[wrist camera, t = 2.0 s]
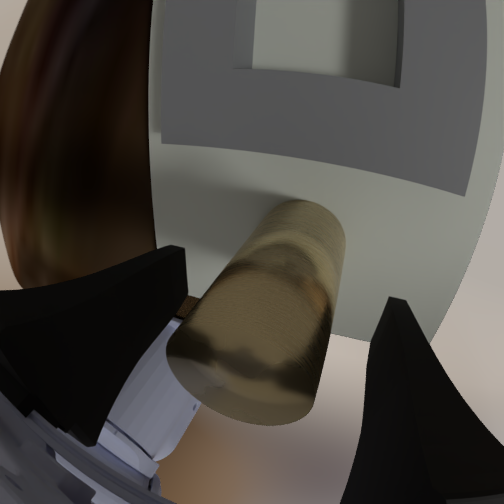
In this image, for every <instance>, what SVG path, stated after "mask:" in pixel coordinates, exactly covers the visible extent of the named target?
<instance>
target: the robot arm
mask: <svg viewBox="0 0 504 504" xmlns="http://www.w3.org/2000/svg"><path fill="white" fill-rule="evenodd" d="M188 293H189V291H188V280H187V267H186V254H185V248H183V247H179V246H175V245H168V246H164V247H161V248H158V249H156V250H153V251H150V252H148V253H145V254H143V255H140V256H138V257H135V258H133V259H130V260H128V261H125V262H123V263H120V264H118V265H115V266H112V267H110V268H107V269H104V270H102V271H99V272H96V273H93V274H90V275H87V276H84V277H81V278H77V279H74V280H70V281H66V282H61V283H57V284H52V285H47V286H42V287H36V288H29V289H20V290H1V291H0V504H176V503H174V502H172V501H170V500H168V499H165V498H163V497H161V486H160V479H159V477H158V475H157V474H155V472H156V470H157V468H158V467H159V464H158V463H156V462H155V461H158V460H161V459H163V458H165V457H166V456H168V455H169V454H170V453H171V452H172V451H173V450H174V449H175V447H176V446H177V444H178V442H179V440H180V439H181V437H182V435H183V434H184V432H185V430H186V428H187V427H188V425H189V423H190V422H191V420H192V418H193V417H194V415H195V413H196V411H197V410H198V408H199V406H200V404H201V402H200V401H199V400H197V399H196V398H195V397H193V396H192V395H191V394H190V393H189V392H188V391H187V390H186V389H185V388H184V387H183V386H182V385H181V384H180V383H179V382H178V380H177V379H176V378H175V376H174V374H173V373H172V371H171V369H170V367H169V365H168V362H167V358H166V345H167V342H168V340H169V338H170V337H171V335H172V334H173V333H174V331H175V330H176V329H177V328H178V326H179V325H180V324H181V322H182V321H183V320H180V319H177V318H174V316H175V315H176V313H177V312H178V310H179V308H180V307H181V305H182V303H183V302H184V300H185V298H186V296H187V295H188ZM340 504H504V446H503V445H502V444H501V443H500V442H499V441H498V440H497V439H496V438H495V437H494V436H493V434H491V432H490V431H489V430H488V429H487V428H486V427H485V425H484V424H483V423H482V422H481V421H480V420H479V418H478V417H477V416H476V414H475V413H474V412H473V411H472V409H471V408H470V407H469V406H468V404H467V403H466V402H465V400H464V399H463V398H462V396H461V395H460V393H459V392H458V390H457V389H456V387H455V386H454V384H453V383H452V381H451V380H450V378H449V377H448V375H447V374H446V372H445V370H444V369H443V367H442V365H441V364H440V362H439V360H438V359H437V357H436V355H435V353H434V352H433V350H432V348H431V346H430V344H429V342H428V341H427V339H426V337H425V335H424V333H423V331H422V329H421V327H420V325H419V323H418V322H417V320H416V318H415V316H414V314H413V312H412V310H411V308H410V306H409V304H408V303H407V301H406V300H404V299H399V298H395V297H391V296H389V297H388V300H387V303H386V305H385V308H384V310H383V313H382V315H381V318H380V320H379V322H378V325H377V327H376V330H375V332H374V334H373V337H372V339H371V343H370V348H369V354H368V361H367V368H366V384H365V397H364V411H363V420H362V427H361V434H360V438H359V443H358V447H357V451H356V455H355V458H354V462H353V466H352V469H351V472H350V476H349V479H348V482H347V485H346V488H345V491H344V493H343V496H342V499H341V502H340Z"/></svg>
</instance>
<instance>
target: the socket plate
mask: <svg viewBox="0 0 504 504" xmlns="http://www.w3.org/2000/svg"><path fill="white" fill-rule="evenodd" d="M149 150H150V171H151V187H152V201H153V213H154V223H155V234H156V243H157V249H158V248H161V247H164V246H168V245H175V246H179V247H183V248H185V254H186V267H187V280H188V291H189V293H188V295H191V296H194V297H197V298H201V297H202V296H203V294H204V293H205V292H206V291H207V289H208V288H209V287H210V285H211V284H212V283H213V282H214V280H215V279H216V278H217V277H218V275H219V274H220V273H221V271H222V270H223V269H224V268H225V266H226V265H227V264H228V263H229V261H230V260H231V259H232V258H233V256H234V255H235V254H236V253H237V251H238V250H239V249H240V248H241V246H242V245H243V244H244V242H245V241H246V240H247V239H248V237H249V236H250V235H251V234H252V232H253V231H254V230H255V229H256V227H257V226H258V225H259V224H260V222H261V221H262V220H263V219H264V217H265V216H266V215H267V214H268V213H269V212H270V210H272V209H273V208H274V207H276V206H277V205H279V204H281V203H283V202H287V201H291V200H307V201H311V202H315V203H317V204H320V205H322V206H323V207H325V208H326V209H328V210H329V211H330V212H332V213H333V214H334V215H335V217H336V218H337V219H338V220H339V222H340V224H341V225H342V227H343V230H344V233H345V237H346V250H345V256H344V263H343V269H342V275H341V281H340V287H339V293H338V298H337V304H336V309H335V314H334V319H333V324H332V329H331V333H332V334H336V335H340V336H345V337H349V338H354V339H358V340H363V341H367V342H371V339H372V337H373V334H374V332H375V330H376V327H377V325H378V322H379V320H380V318H381V315H382V313H383V310H384V308H385V305H386V303H387V300H388V297H389V296H391V297H395V298H399V299H404V300H406V301H407V303H408V304H409V306H410V308H411V310H412V312H413V314H414V316H415V318H416V320H417V322H418V323H419V325H420V327H421V329H422V331H423V333H424V335H425V337H426V339H427V341H428V342H429V344H430V342H431V340H432V338H433V337H434V335H435V333H436V332H437V330H438V328H439V326H440V324H441V322H442V320H443V319H444V316H445V315H446V313H447V311H448V309H449V307H450V305H451V303H452V301H453V299H454V296H455V294H456V292H457V290H458V288H459V286H460V283H461V281H462V279H463V277H464V274H465V272H466V270H467V267H468V265H469V263H470V260H471V258H472V255H473V252H474V250H475V247H476V245H477V242H478V239H479V237H480V233H481V231H482V228H483V225H484V222H485V219H486V216H487V213H488V210H489V206H490V203H491V200H492V196H493V193H494V189H495V185H496V181H497V177H498V173H499V169H500V165H501V160H502V156H503V150H504V0H153V10H152V22H151V36H150V55H149Z"/></svg>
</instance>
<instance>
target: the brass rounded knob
mask: <svg viewBox="0 0 504 504" xmlns="http://www.w3.org/2000/svg"><path fill="white" fill-rule="evenodd" d="M345 250H346V237H345V233H344V230H343V227H342V225H341V224H340V222H339V220H338V219H337V218H336V217H335V215H334V214H333V213H332V212H330V211H329V210H328V209H326V208H325V207H323V206H322V205H320V204H317V203H315V202H311V201H307V200H291V201H287V202H283V203H281V204H279V205H277V206H276V207H274V208H273V209H272V210H270V212H269V213H268V214H267V215H266V216H265V217H264V219H263V220H262V221H261V222H260V224H259V225H258V226H257V227H256V229H255V230H254V231H253V232H252V234H251V235H250V236H249V237H248V239H247V240H246V241H245V242H244V244H243V245H242V246H241V248H240V249H239V250H238V251H237V253H236V254H235V255H234V256H233V258H232V259H231V260H230V261H229V263H228V264H227V265H226V266H225V268H224V269H223V270H222V271H221V273H220V274H219V275H218V277H217V278H216V279H215V280H214V282H213V283H212V284H211V285H210V287H209V288H208V289H207V291H206V292H205V293H204V294H203V296H202V297H201V298H200V299H199V301H198V302H197V303H196V305H195V306H194V307H193V308H192V310H191V311H190V312H189V313H188V315H187V316H186V317H185V319H184V320H183V321H182V322H181V324H180V325H179V326H178V328H177V329H176V330H175V331H174V333H173V334H172V335H171V337H170V338H169V340H168V342H167V345H166V358H167V362H168V365H169V367H170V369H171V371H172V373H173V374H174V376H175V378H176V379H177V380H178V382H179V383H180V384H181V385H182V386H183V387H184V388H185V389H186V390H187V391H188V392H189V393H190V394H191V395H192V396H193V397H195V398H196V399H197V400H199V401H200V402H201V403H203V404H204V405H206V406H207V407H209V408H211V409H213V410H215V411H216V412H218V413H220V414H223V415H225V416H228V417H230V418H233V419H235V420H239V421H242V422H246V423H250V424H256V425H266V426H274V425H284V424H289V423H292V422H295V421H298V420H300V419H301V418H303V417H304V416H306V415H307V414H308V413H309V412H310V410H311V409H312V407H313V404H314V401H315V397H316V393H317V389H318V385H319V382H320V377H321V373H322V369H323V365H324V361H325V356H326V352H327V348H328V343H329V338H330V334H331V329H332V324H333V319H334V314H335V309H336V304H337V298H338V293H339V287H340V281H341V275H342V269H343V263H344V256H345Z"/></svg>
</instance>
